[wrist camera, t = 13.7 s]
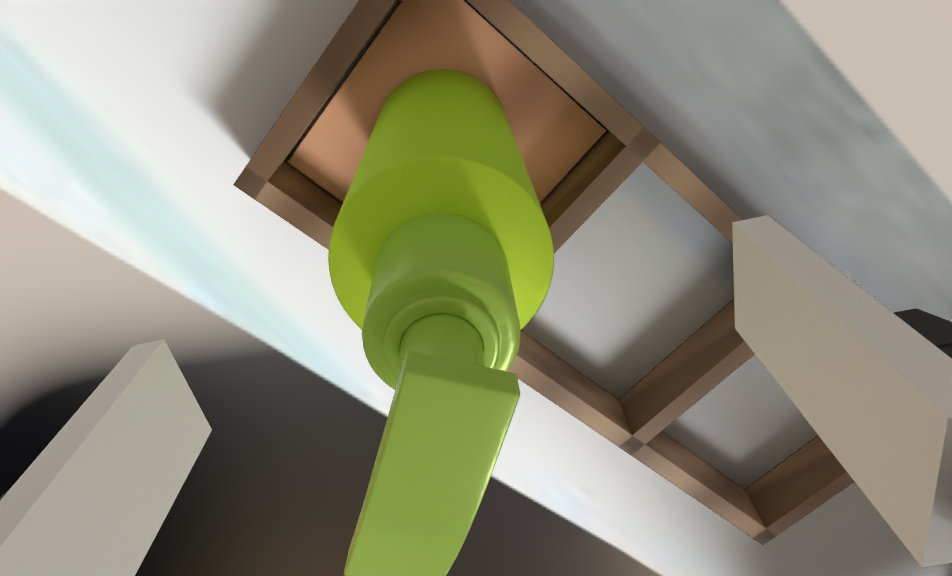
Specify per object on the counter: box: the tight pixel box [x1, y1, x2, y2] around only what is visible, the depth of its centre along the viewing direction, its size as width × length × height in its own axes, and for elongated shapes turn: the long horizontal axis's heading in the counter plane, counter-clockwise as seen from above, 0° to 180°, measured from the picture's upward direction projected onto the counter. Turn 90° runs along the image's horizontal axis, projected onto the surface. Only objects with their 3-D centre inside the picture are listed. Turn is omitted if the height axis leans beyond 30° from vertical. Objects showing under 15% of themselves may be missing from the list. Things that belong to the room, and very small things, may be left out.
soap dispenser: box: [328, 69, 554, 576], centre depth 19 cm, size 6×7×20 cm
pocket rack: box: [233, 0, 855, 545], centre depth 31 cm, size 36×12×3 cm, turn 50°
